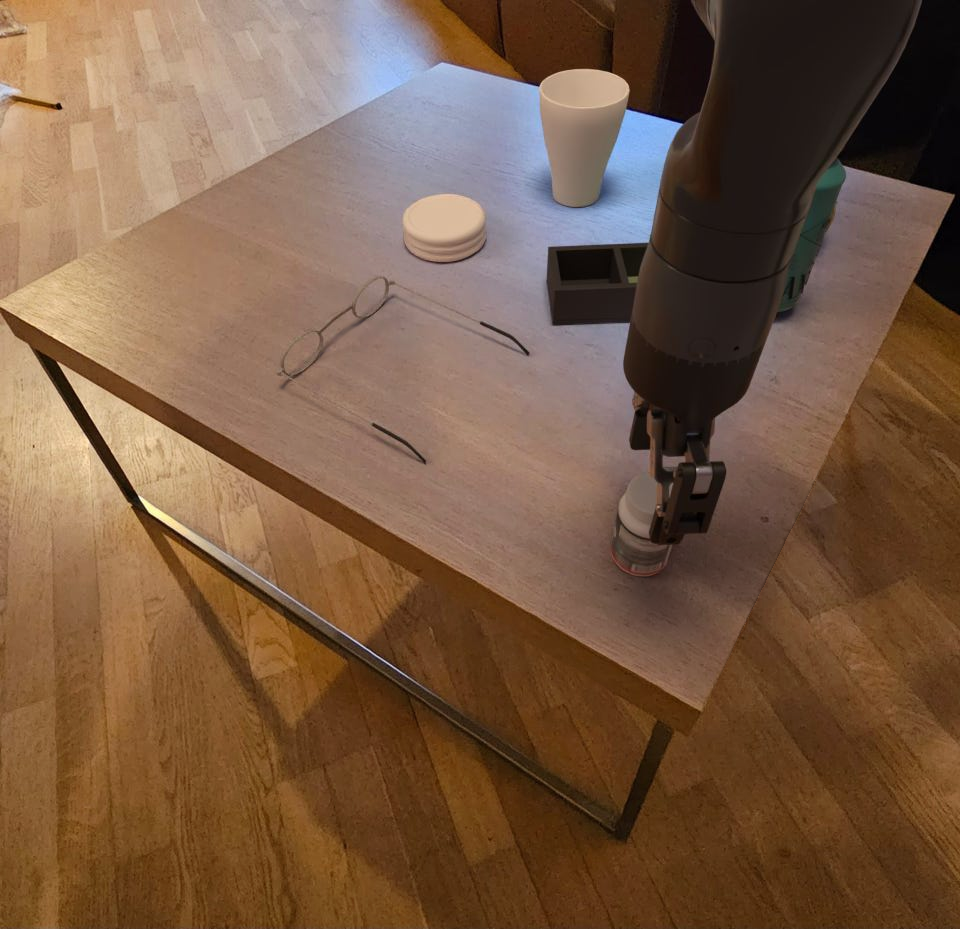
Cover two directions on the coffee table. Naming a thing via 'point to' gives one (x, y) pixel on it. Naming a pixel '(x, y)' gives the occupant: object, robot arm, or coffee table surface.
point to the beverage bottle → (812, 233)
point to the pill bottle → (638, 529)
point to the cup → (581, 130)
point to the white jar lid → (444, 227)
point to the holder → (593, 282)
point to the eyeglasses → (352, 306)
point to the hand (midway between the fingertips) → (653, 490)
